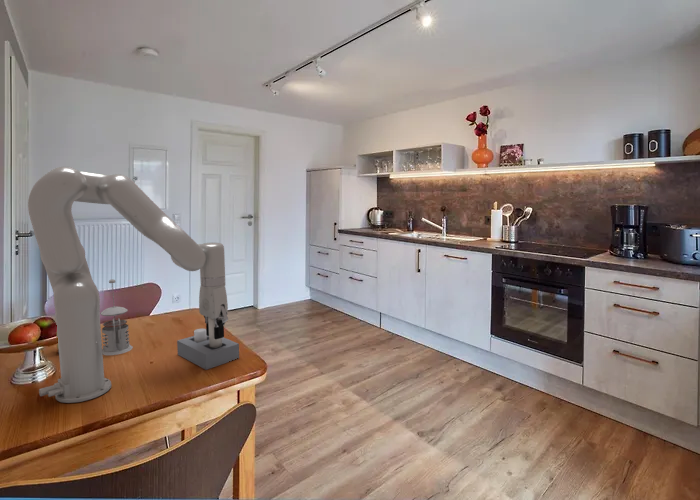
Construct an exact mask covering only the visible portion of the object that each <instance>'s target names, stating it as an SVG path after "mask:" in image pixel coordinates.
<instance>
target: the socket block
mask: <svg viewBox="0 0 700 500" xmlns="http://www.w3.org/2000/svg"><path fill="white" fill-rule="evenodd" d="M176 344H177V345H176V348H177V356H179V357H181V358H183V359H185V360H187V361H189V362H191V363H193V364H195V365H196V366H198V367H200V368H202V369H203V370H205V371H206V370H210V369H212V368H215V367H218V366H222V365H224V364H227V363H229V361H230V362H232V360H233V361H235V359H236V360H238V359H240V343H238V342H235V341H234V340H231V339H229V338H226V337H225V336H224V337H223V338H222V346H221V347H218V348H211V347H209V336H207V335H206V328H196V329H195V330H193V336H192V335H191V336H188V337H184V338H181V339H178V340H176ZM237 358H238V359H237Z"/></svg>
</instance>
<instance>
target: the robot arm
mask: <svg viewBox="0 0 700 500" xmlns="http://www.w3.org/2000/svg"><path fill="white" fill-rule="evenodd" d="M74 202H76V203H77V202H79V203H85V204H86V203H87V204H89V203H90V204H96V205H97V204H100V205H101V204H102V205H110V206H111V207H112V208H113V209H115V210H116V211H117V212H118V213H119V214H120V215H121V216H122V217H123V218H124V219H125V220H126V221H127V222H129V224H130V225H132V227H134V229H136V230H137V231H138V232H139V233H140V234H142V235H143V236H144V237H145V238H147V239H149V240H150V241H153V242H154V243H155V244H156V245H158V246H159V247H161V248H162V249H163V250H164V251H165V252H166V253H167V254H168V255H169V256H170V259H171V261H172V263H174V265H175V266H176V267H177V266H178V267H179V268H181V269H184V270H186V271H188V272H197V271H198V270H199V273H200V274H199V276H200V286H199V287H200V288H199V293H198V294H199V297H198V309H199V310H198V311H199V314H200V315H201V316H203V317H204V324H205V327H206V328H205V329H206V335H207V336H209V325H208V317H209V318H211V319H214V321H215V327H214V339H219V338H223V337H224V338H225V323H226V322H227V321H229V316H228V313H229V310H228V309H229V307H228V303H229V302H228V296H227V289H226V264H225V262H226V261H225V260H226V259H225V247H224V244H222V243H220V242H205V243H197V242H196V241H195V240H194V239H193V238H192V237H191V236H190V235H189V234H188V233H187V232H186V231H185V230H183V228H182V227H180V226H179V225H178V224H177V223H176V222H175V221H174V220H173V219H172V218H171V217H170V216H169V215H167V214H166V213H165V211H163V210H162V209H161V208H160V207H159V206H158V205H157V204H156V203H155V202H154V201H153V200H152V199H151V198H150V197H149V196H148V195H147V194H146V193H145V192H144V191H143V190H142V189H141V188H140V187H139V186H138V185H137V184H136V183H135V182H134V181H133V180H132V179H131V178H130V177H128V176H127V175H124V174H119V173H118V174H116V173H115V174H102V173H95V172H94V173H93V172H87V171H79V170H78V169H76V168H74V167H70V166H59V167H55V168H53V169H51V170H50V171H48V172H47V173H45V174H43V176H41V177H40V178H39V179H38V180H37V181H36V182H35V183H34V185H33V186H32V188H31V190H30V193H29V195H28V201H27V208H28V210H27V211H28V216H29V219H30V223H31V226H32V229H33V232H34V236H35V239H36V242H37V245H38V248H39V252H40V254H39V257H40V260H41V262H42V264H43V266H44V269H45V271H46V275H47V278H48V281H49V284H50V286H51V289H52V292H53V303H54V311H55V312H54V314H55V323H56V324H55V326H56V325H57V332H56V338H57V337H58V347H59V353H58V356H59V357H58V358H59V368H60V378H57V382H55V383H54V384H53V385H49V386H45V387H42V388H39V389H38V393H39V394H38V395H39V397H43V396H47V397H48V398H50V397H55V400H56V401H58V402H60V403H64V404H66V403H67V404H70V403H71V404H72V403H73V404H74V403H80V402H81V403H82V402H85V401H89V400H92V399H95V398H98V397H100V396H102V395H104V394H106V393H107V392H108V391H110V389H111V388H112V381H111V380H110V379H109V378H106V377H105V371H104V370H105V369H104V355H103V354H102V349H103V339H102V328H101V314H100V313H101V312H100V311H101V299H100V293H99V289H98V287H97V285H96V284H95V282H94V280H93V277H92V275H91V270H90V267H89V265H88V261H87V258H86V251H85V248H84V246H83V245H82V242H81V240H80V237H79V234H78V230H77V228H76V224H75V220H74V217H73V211H72V208H73V203H74ZM219 315H221V316H219ZM218 319H221V320H219V322H218Z"/></svg>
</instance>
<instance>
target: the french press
mask: <svg viewBox="0 0 700 500" xmlns="http://www.w3.org/2000/svg"><path fill="white" fill-rule="evenodd" d="M108 283H109V284H111V287H112V291H114V284H115V283H116V280H115V279H109V281H108ZM114 293H115V292H112V302H113V303H112V305H113V306H111V307H107V308H105V309H104V310H101V312H100V316H103V317H113V318H112V320H109V321H108V320H107V321H105V322H104V323H102V326H103V327H102V328H101V338H102V337H103V338H102V354H103V356H116V355H121V354H122V355H123V354H125V353H128V352H130V351H131V350H133V347H134V346H132V345H131V344H130V337H129V336H130V335H129V332H130V331H129V324H127V322H128V321H127V320H126V319H120V318H119V317H118V319H116V316H120V315H124V314H126V313H127V312H128V311H129V310H128V309H127V308H125V307H122V306H115V297H114V295H115V294H114Z"/></svg>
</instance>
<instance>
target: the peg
mask: <svg viewBox="0 0 700 500" xmlns="http://www.w3.org/2000/svg"><path fill="white" fill-rule="evenodd" d="M219 316H221V315H219ZM219 320H221V319H218V322H219ZM208 325H209V347H211V348H218V347H221V346H222V338H219V339H214V327H215V321H214V319H211V318H209V317H208Z"/></svg>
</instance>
